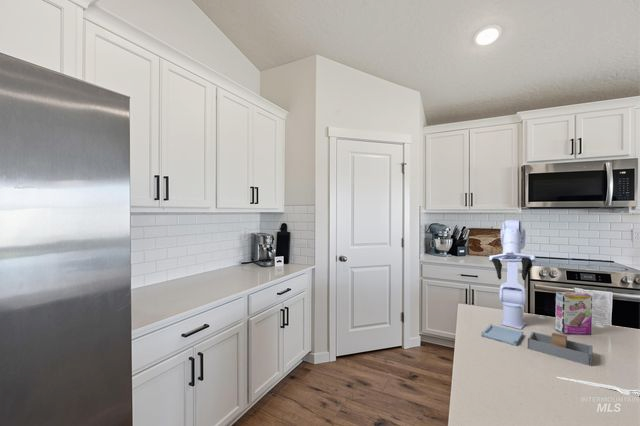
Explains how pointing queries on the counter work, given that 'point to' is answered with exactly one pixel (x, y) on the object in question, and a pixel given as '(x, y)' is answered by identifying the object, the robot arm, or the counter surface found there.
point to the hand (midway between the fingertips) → (511, 278)
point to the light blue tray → (502, 334)
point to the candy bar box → (573, 313)
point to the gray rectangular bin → (561, 348)
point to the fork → (603, 386)
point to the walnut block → (559, 340)
